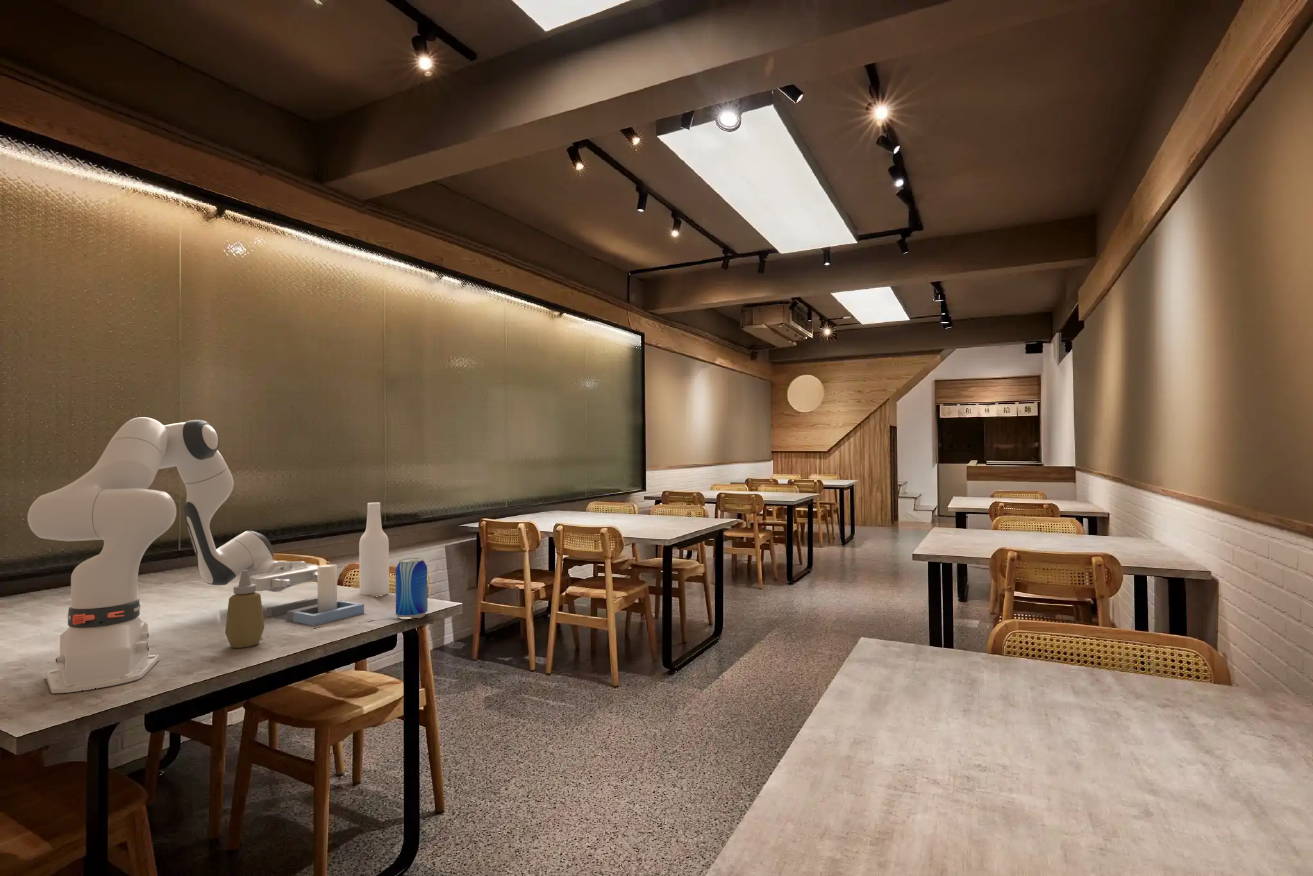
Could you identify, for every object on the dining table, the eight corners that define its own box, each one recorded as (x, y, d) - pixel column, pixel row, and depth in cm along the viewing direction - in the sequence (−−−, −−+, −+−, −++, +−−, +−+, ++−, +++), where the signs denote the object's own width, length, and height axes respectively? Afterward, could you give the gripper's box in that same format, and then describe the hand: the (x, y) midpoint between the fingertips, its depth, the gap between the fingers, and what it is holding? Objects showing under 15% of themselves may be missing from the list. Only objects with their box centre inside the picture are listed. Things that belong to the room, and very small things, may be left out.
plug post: (338, 617, 182) (338, 566, 182) (319, 619, 179) (318, 568, 179) (335, 613, 186) (335, 563, 186) (316, 616, 183) (316, 565, 183)
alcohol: (374, 598, 208) (373, 504, 209) (353, 597, 212) (352, 503, 212) (394, 593, 217) (394, 501, 217) (374, 591, 220) (373, 501, 220)
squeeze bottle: (271, 643, 161) (270, 569, 161) (235, 652, 154) (235, 574, 154) (254, 638, 165) (253, 566, 165) (218, 646, 158) (218, 571, 159)
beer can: (421, 620, 181) (420, 562, 181) (390, 620, 181) (390, 562, 181) (431, 612, 189) (431, 557, 190) (402, 613, 189) (402, 557, 190)
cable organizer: (365, 616, 186) (365, 604, 186) (314, 629, 173) (314, 616, 173) (317, 608, 197) (317, 596, 197) (266, 619, 184) (266, 607, 184)
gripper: (238, 571, 186) (266, 575, 179) (308, 560, 203) (336, 563, 197) (238, 593, 186) (266, 598, 179) (308, 580, 203) (336, 584, 197)
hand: (303, 580), depth 188 cm, fingers open, 8 cm apart
